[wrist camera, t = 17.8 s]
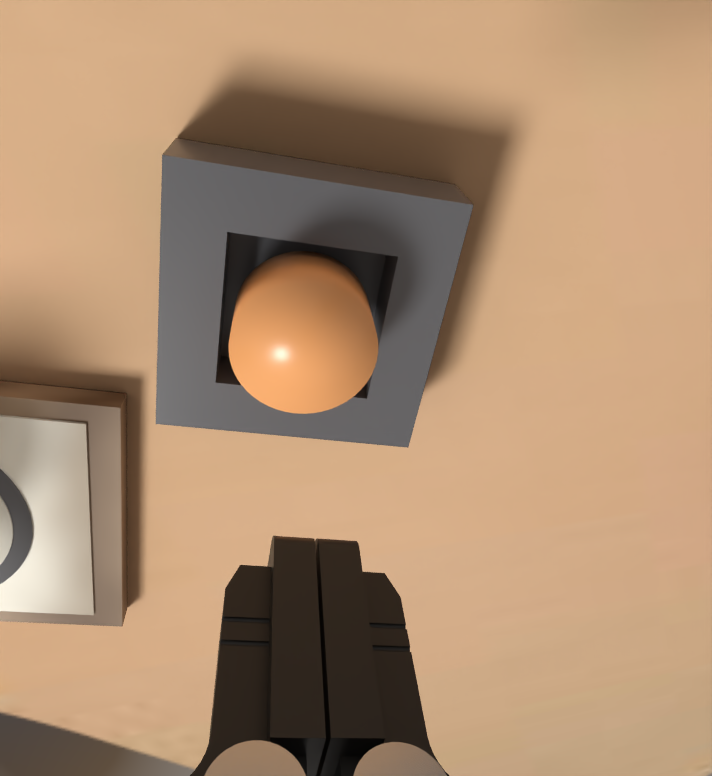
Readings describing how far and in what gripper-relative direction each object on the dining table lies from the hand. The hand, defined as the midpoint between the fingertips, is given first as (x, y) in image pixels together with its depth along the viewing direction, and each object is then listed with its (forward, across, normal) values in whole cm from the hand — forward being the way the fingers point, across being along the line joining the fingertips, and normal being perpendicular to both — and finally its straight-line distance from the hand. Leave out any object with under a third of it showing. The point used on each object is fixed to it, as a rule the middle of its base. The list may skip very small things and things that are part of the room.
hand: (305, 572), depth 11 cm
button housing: (+13, 0, 0) cm, 13 cm away
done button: (+11, 0, 0) cm, 11 cm away
